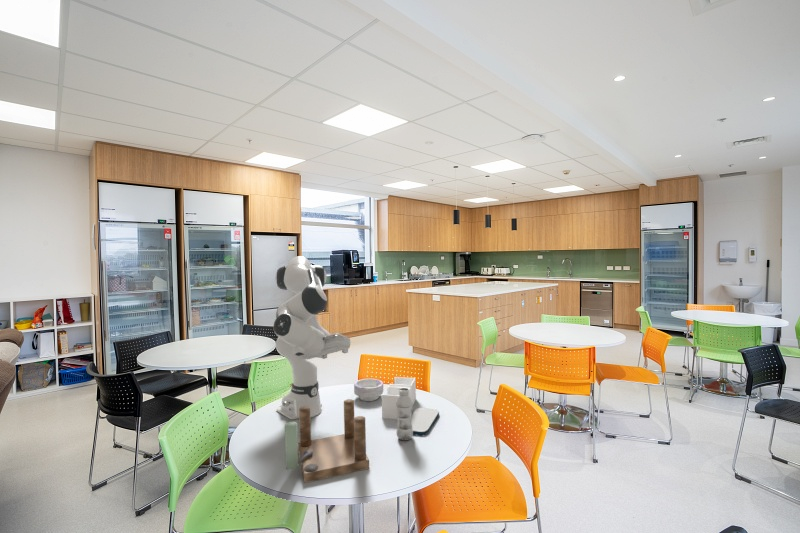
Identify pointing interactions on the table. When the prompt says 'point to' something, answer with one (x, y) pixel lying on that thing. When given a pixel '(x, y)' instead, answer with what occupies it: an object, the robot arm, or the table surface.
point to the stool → (333, 447)
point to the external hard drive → (423, 420)
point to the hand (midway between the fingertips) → (336, 353)
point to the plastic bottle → (404, 415)
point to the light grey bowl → (368, 389)
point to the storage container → (393, 393)
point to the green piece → (293, 447)
